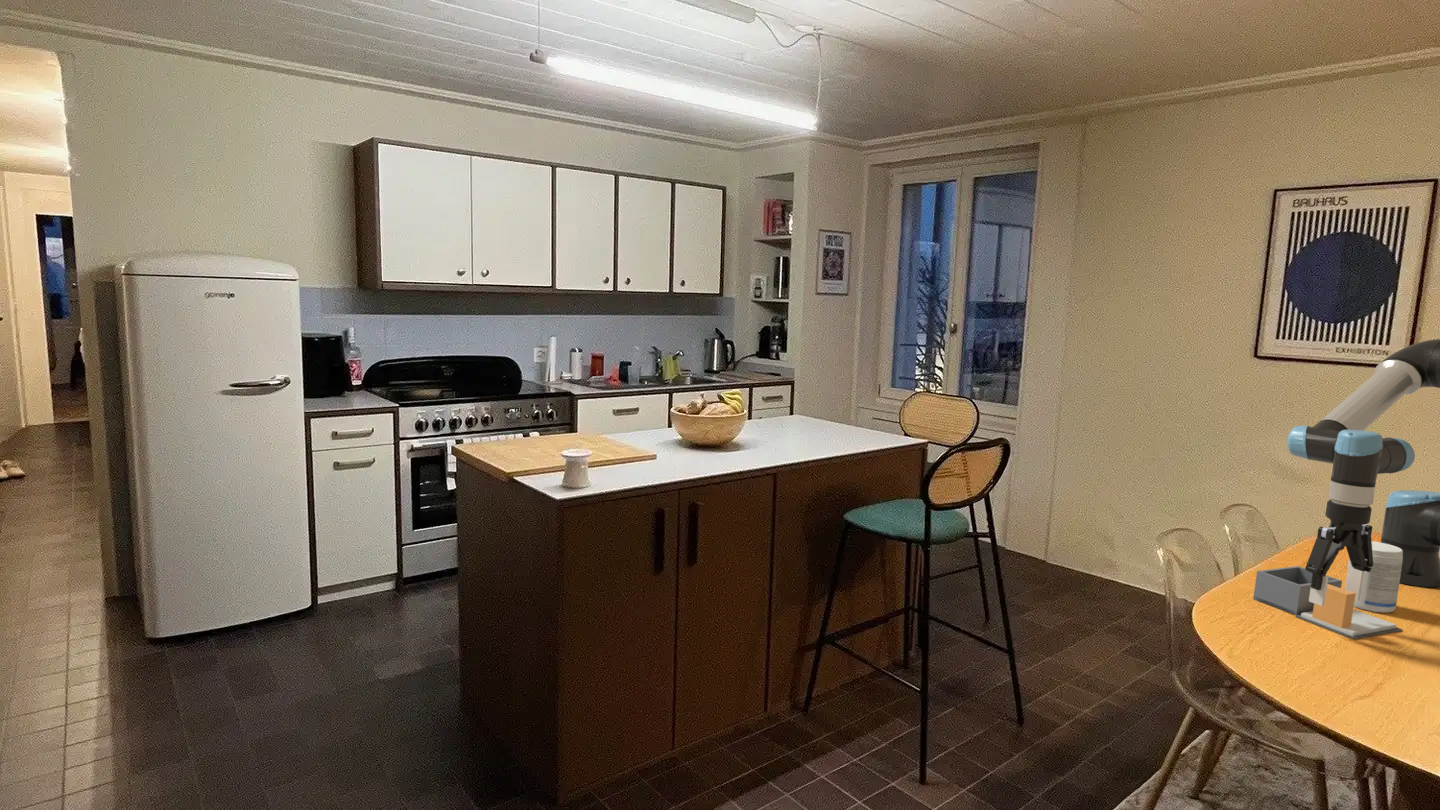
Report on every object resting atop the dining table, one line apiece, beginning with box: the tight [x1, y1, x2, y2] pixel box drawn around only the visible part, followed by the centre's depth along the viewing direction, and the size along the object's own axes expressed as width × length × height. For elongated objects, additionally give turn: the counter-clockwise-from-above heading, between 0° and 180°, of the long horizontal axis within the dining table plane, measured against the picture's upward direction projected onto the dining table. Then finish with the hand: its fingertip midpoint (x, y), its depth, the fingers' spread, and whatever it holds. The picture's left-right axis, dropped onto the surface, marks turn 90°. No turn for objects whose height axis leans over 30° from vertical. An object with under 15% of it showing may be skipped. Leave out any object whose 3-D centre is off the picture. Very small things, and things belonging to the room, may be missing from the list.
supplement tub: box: [1344, 540, 1403, 614], centre depth 185 cm, size 10×10×15 cm
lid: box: [1301, 584, 1397, 636], centre depth 174 cm, size 15×11×8 cm
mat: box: [1294, 615, 1403, 640], centre depth 175 cm, size 16×12×1 cm
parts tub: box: [1252, 565, 1343, 616], centre depth 185 cm, size 14×10×7 cm
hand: (1334, 600), depth 172 cm, fingers open, 11 cm apart
